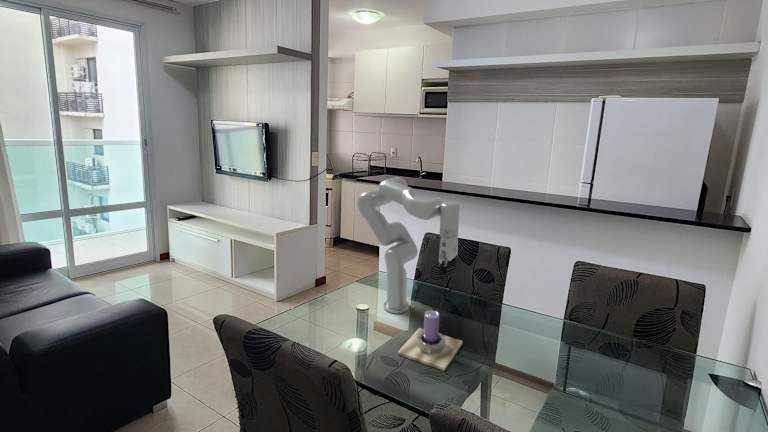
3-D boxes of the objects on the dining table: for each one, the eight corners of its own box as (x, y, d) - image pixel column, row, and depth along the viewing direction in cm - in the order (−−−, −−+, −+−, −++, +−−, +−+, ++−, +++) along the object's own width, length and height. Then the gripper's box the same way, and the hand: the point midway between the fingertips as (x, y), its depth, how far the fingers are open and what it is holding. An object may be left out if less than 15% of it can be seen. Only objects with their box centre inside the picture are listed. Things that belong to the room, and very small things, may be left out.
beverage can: (438, 350, 166) (440, 317, 162) (423, 350, 166) (425, 317, 162) (437, 342, 172) (438, 310, 168) (422, 341, 172) (423, 309, 168)
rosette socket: (397, 354, 166) (397, 343, 165) (419, 330, 183) (419, 320, 181) (444, 370, 156) (444, 359, 155) (462, 343, 173) (463, 333, 172)
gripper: (449, 239, 161) (447, 279, 167) (464, 227, 176) (462, 264, 181) (432, 236, 165) (430, 275, 170) (448, 224, 179) (446, 260, 184)
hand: (447, 269), depth 175 cm, fingers open, 9 cm apart
